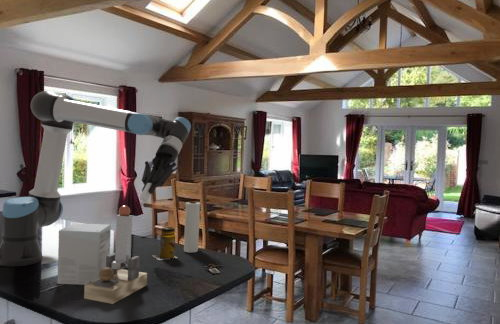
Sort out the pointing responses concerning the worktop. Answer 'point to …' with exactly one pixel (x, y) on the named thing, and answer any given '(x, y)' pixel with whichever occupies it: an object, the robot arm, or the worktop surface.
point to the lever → (123, 238)
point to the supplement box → (82, 252)
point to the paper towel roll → (191, 227)
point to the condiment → (167, 244)
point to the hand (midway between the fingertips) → (143, 200)
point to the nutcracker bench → (116, 282)
